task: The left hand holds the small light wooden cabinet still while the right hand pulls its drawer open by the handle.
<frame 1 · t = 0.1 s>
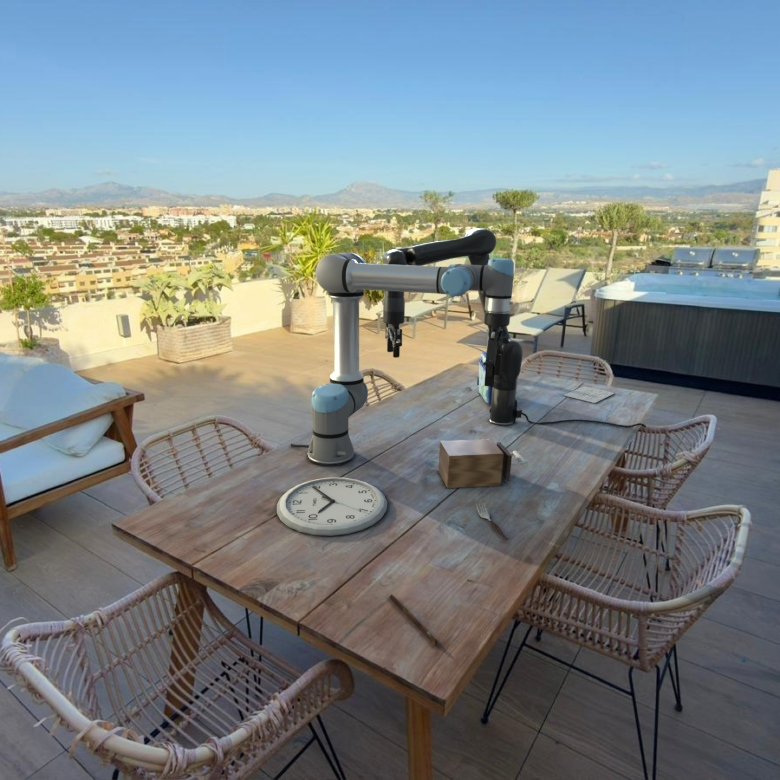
left hand: (492, 380, 162), 28 cm above the table, tool pointing down, fingers open, 13 cm apart
right hand: (393, 354, 187), 29 cm above the table, tool pointing down, fingers open, 8 cm apart
cabinet: (468, 478, 160), on the table
invitation card: (589, 394, 243), on the table
wall clock: (332, 505, 143), on the table
lunch box: (491, 399, 234), on the table
dark brown rod: (411, 621, 101), on the table
drawer: (489, 461, 159), point 5 cm above the table, slide at 1.7 cm
fork: (492, 525, 135), on the table
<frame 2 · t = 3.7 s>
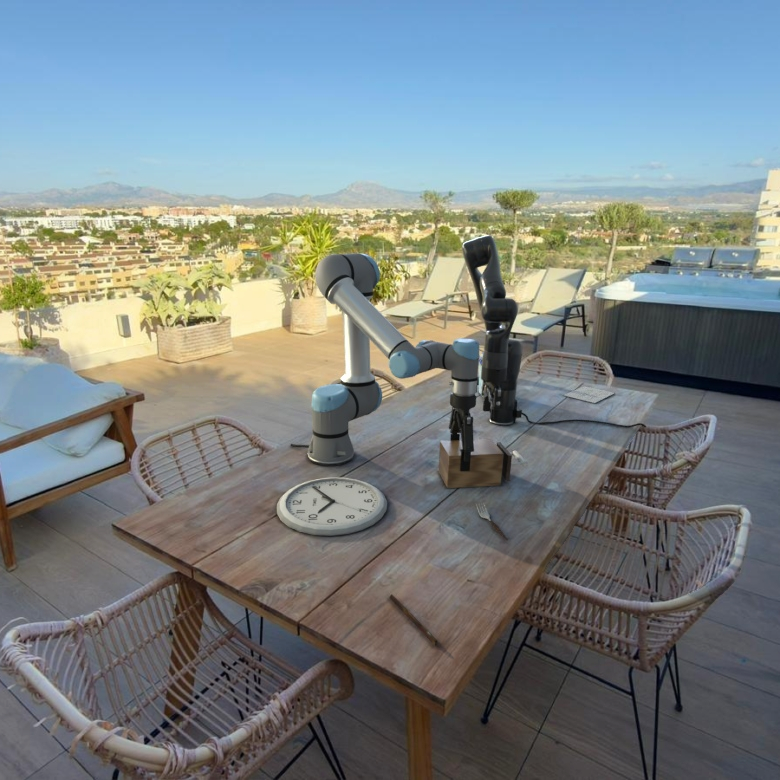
left hand: (459, 462, 157), 6 cm above the table, tool pointing down, fingers closed on cabinet, 11 cm apart
right hand: (490, 415, 162), 18 cm above the table, tool pointing down, fingers open, 8 cm apart
cabinet: (468, 478, 160), on the table, touching left hand
everything else where it was.
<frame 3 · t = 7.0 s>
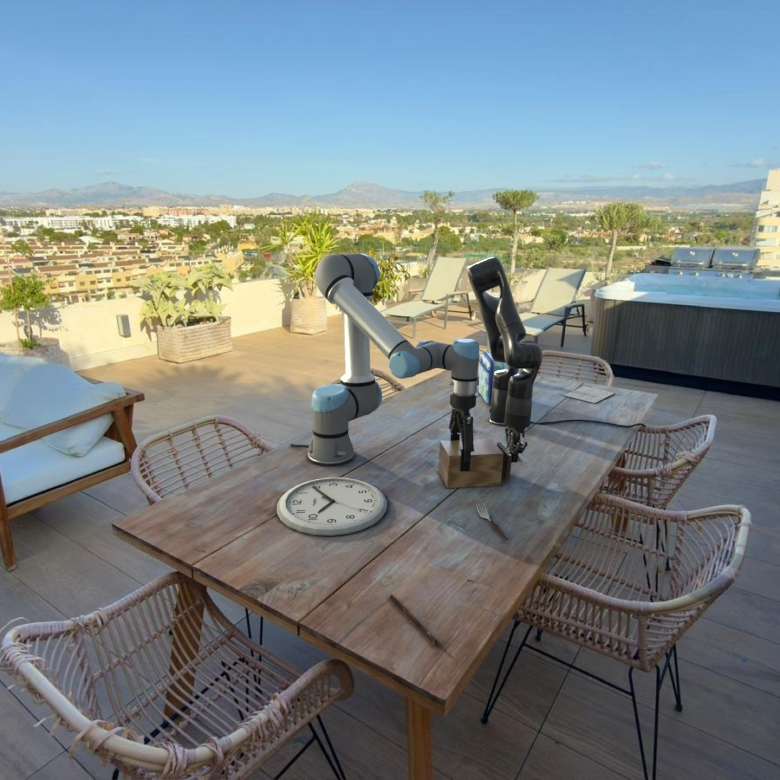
left hand: (459, 462, 157), 6 cm above the table, tool pointing down, fingers closed on cabinet, 11 cm apart
right hand: (513, 463, 160), 4 cm above the table, tool pointing down, fingers closed
cabinet: (468, 478, 160), on the table, touching left hand
drawer: (490, 461, 159), point 5 cm above the table, slide at 1.7 cm, touching right hand
everything else where it was.
when the left hand's fingers open (6 cm above the table, at t = 9.8 s): cabinet stays where it is, on the table.
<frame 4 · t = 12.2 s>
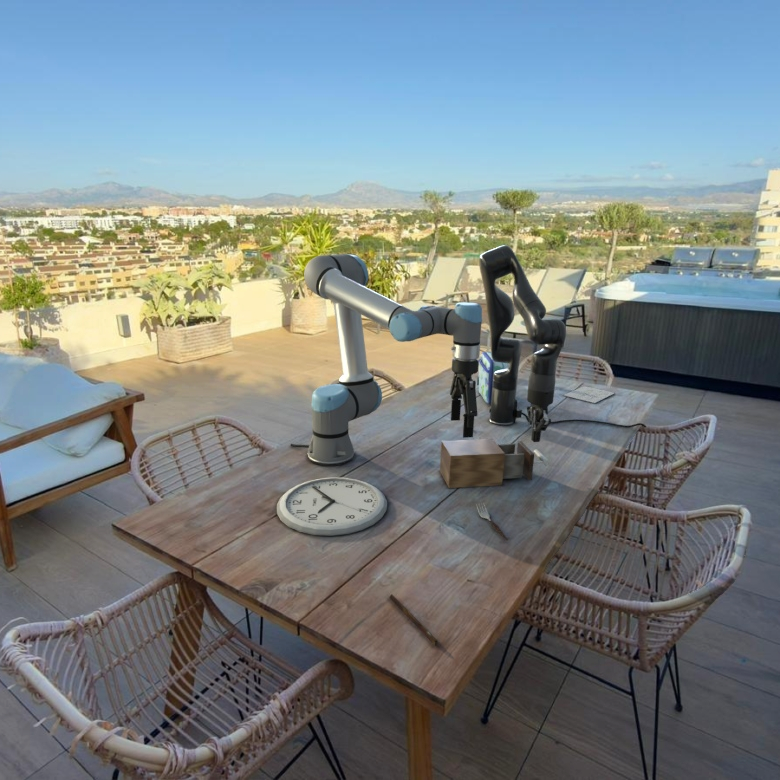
left hand: (461, 428, 154), 16 cm above the table, tool pointing down, fingers open, 13 cm apart
right hand: (535, 441, 159), 11 cm above the table, tool pointing down, fingers closed
cabinet: (470, 478, 160), on the table
drawer: (511, 460, 160), point 5 cm above the table, slide at 8.2 cm
everything else where it was.
at the end: drawer slide at 8.2 cm; cabinet tilted 0°; cabinet never tilted more than 2° during the clip; cabinet moved 0.5 cm from its start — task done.
